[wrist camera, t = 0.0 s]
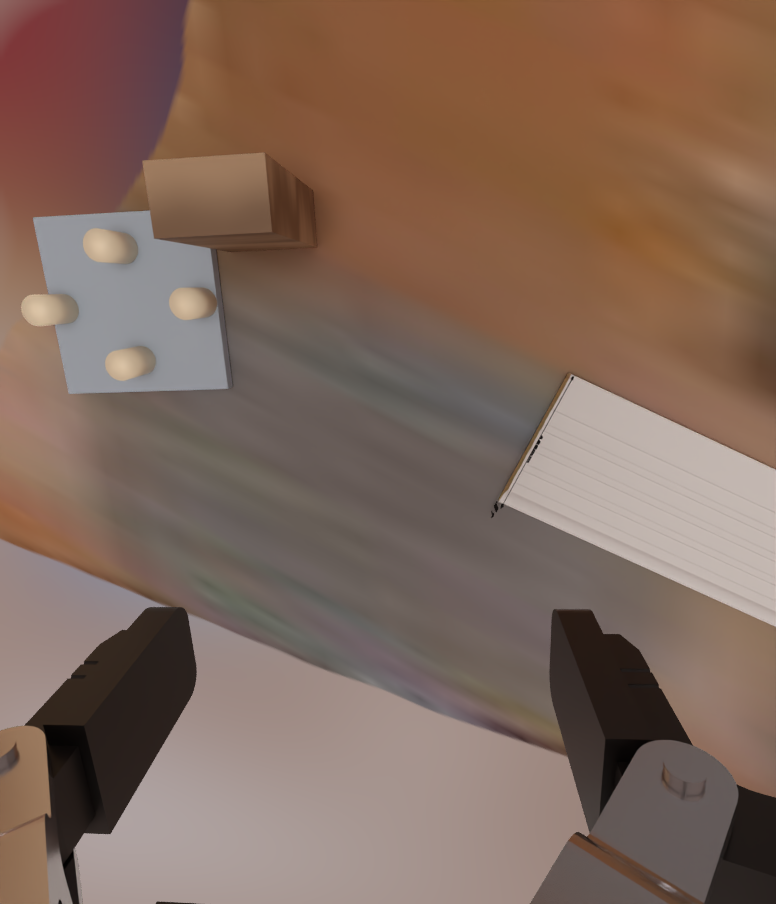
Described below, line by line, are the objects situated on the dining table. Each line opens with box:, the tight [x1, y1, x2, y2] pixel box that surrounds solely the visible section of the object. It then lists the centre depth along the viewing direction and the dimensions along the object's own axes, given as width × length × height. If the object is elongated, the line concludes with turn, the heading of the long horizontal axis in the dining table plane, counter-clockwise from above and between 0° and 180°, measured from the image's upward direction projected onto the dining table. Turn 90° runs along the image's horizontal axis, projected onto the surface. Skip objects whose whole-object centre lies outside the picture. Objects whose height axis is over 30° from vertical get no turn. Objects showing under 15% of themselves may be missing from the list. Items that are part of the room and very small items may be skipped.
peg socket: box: [21, 211, 233, 394], centre depth 38 cm, size 12×12×4 cm
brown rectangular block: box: [142, 152, 317, 252], centre depth 32 cm, size 4×6×11 cm, turn 92°
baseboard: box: [491, 373, 776, 627], centre depth 41 cm, size 31×3×12 cm
